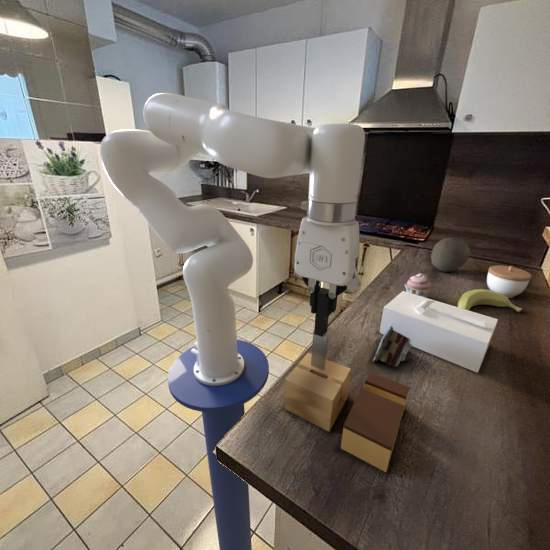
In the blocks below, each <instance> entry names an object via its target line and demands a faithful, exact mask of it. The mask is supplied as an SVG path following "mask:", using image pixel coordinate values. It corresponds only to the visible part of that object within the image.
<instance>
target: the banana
mask: <svg viewBox="0 0 550 550" xmlns="http://www.w3.org/2000/svg"><path fill="white" fill-rule="evenodd" d="M480 305H483V306H484V305H486V306H487V305H488V306H493V307H499V308H506V307H508V308H511V309H513V310H514V311H515V312H516V313H518V314H519V313H521V312H522V311H523V308H522V307H519V306H516V305H515V304H514V303H513V302H511V300H510V298H507V297H506V296H505V295H503V294H501V293H499V292H495V291H491V290H490V289H483V288H480V289H479V288H478V289H471V290H468V291H465V292H464V293H463V294H462V295H460V298H459V299H458V302H457V307H458V308H462V309H465V310H468V311H471V310H470V309H471V308H472V307H474V306H480Z"/></svg>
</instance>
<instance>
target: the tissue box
mask: <svg viewBox="0 0 550 550" xmlns="http://www.w3.org/2000/svg"><path fill="white" fill-rule="evenodd" d="M498 320H499V319H498V318H495V317H492V316H488V315H486V314H485V315H484V314H482V313H478V312H475V311H472V310H469V311H468V310H465V309H462V308H458V306H455V305H451V304H448V303H444V302H442V301H438V300H435V299H431V298H428V297H427V298H425V297H422V296H418V295H415V294H412V293H408V292H406V290H405V291H404V290H402V291H401V292H400V293H399V294H397V295H396V296H394V298H393V299H391V300H390V301H389V302H388V303H387V304H386V305H384V306H383V309H382V315H381V321H380V326H379V334H382V335H384V334H385V333H386V331H387V330H388V328H389V327H390V326H391V324H392V327H393V330H394V331H396V332H398V333H400V334H402V335H404V336H405V337H407V338H409V339H410V340H411V341H410V344H411V345H412V346H411V347H413V348H416V349H419V350H421V351H423V352H426V353H428V354H431V355H433V356H436V357H438V358H440V359H443V360H445V361H448V362H450V363H452V364H455V365H457V366H460V367H462V368H465V369H466V370H470V371H472V372H474V373H476V374H477V373H479V371H480V368H481V367H482V364H483V361H484V359H485V356H486V354H487V352H488V349H489V346H490V343H491V341H492V339H493V338H492V337H493V336H494V332H495V330H496V328H497V327H496V326H497V324H498Z"/></svg>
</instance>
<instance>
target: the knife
mask: <svg viewBox="0 0 550 550" xmlns="http://www.w3.org/2000/svg"><path fill="white" fill-rule="evenodd" d="M328 293H329V288H326V287H321V289H320V290H319V291H318V292H317V301H316V313H314V314H315V315H314V328H313V331H312V342H311V343H312V344H311V354H312V356H311V366H314V367H316V368H318V369H321V370H323V371H325V364H326V359H327V352H328V342H329V341H328V340H329V334H327V333H328V328H329V319H330V318H329V317H330V316H329V317H328V318H326V317H324V305H325V298H326V297H327V296H328Z"/></svg>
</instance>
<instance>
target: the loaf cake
mask: <svg viewBox="0 0 550 550" xmlns="http://www.w3.org/2000/svg"><path fill="white" fill-rule="evenodd" d="M403 408H404V409H405V407H404V405H401V404H399V403H396V402H394V401H391V400H389V399H387V398H384V397H382V396H379V395H377V394H374V393H372V392H369V391H367V390H365V389H364V388H362V387H361V388H360V390H359V393H358V394H357V397H356V399H355V400H354V403H353V404H352V406H351V409H350V410H349V413H348V414H347V417H346V419H345V421H344V423H343V428H342V435H341V442H340V443H341V444H340V450H343V451H345V452H347V453H348V454H351V455H353V456H354V457H356V458H358V459H360V460H362V461H364V462H366V463H367V464H370V465H371V466H373V467H375V468H377V469H379V470H380V471H383V472H384V473H387V471H388V469H389V468H388V467H389V464H390V461H391V457H392V453H393V450H394V447H395V443H396V439H397V436H398V434H399V433H398V432H399V428H400V424H401V420H402V418H401V416H402V417H403V415H402V412H403V413H404V411H403Z"/></svg>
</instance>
